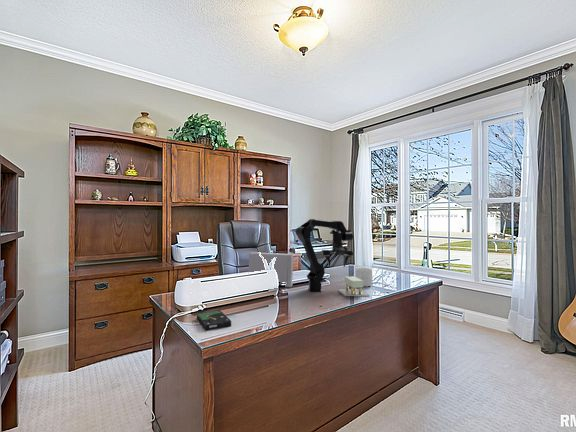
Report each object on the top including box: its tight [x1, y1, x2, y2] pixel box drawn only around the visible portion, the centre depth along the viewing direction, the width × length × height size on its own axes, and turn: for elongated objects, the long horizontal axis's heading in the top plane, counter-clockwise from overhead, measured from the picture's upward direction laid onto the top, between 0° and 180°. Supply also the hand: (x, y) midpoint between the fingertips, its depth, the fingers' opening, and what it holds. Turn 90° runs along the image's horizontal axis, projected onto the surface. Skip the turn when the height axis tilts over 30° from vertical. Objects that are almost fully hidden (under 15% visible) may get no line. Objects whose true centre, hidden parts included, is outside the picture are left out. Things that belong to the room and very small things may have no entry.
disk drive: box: [196, 309, 232, 332], centre depth 120 cm, size 10×3×15 cm
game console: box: [248, 251, 294, 288], centre depth 186 cm, size 6×27×20 cm, turn 78°
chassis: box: [338, 283, 370, 297], centre depth 169 cm, size 14×12×5 cm
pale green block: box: [344, 275, 364, 288], centre depth 169 cm, size 6×12×4 cm, turn 10°
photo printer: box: [355, 266, 373, 287], centre depth 188 cm, size 10×4×12 cm, turn 86°
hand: (336, 266), depth 182 cm, fingers open, 9 cm apart
